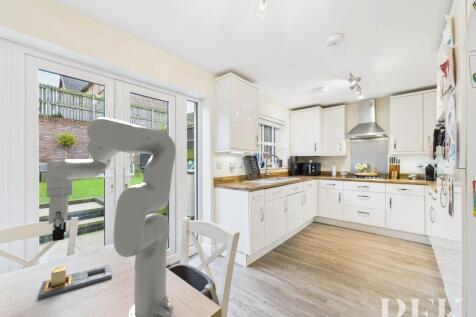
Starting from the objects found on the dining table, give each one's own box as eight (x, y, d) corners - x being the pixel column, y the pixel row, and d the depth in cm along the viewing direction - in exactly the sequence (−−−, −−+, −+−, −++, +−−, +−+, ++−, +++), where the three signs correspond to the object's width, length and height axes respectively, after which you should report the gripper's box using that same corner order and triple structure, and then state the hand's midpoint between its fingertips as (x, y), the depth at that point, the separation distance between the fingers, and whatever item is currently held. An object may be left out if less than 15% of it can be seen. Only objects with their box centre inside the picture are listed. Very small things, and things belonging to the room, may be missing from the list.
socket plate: (109, 267, 93) (109, 264, 93) (111, 278, 85) (111, 274, 85) (43, 285, 80) (43, 281, 80) (38, 299, 72) (38, 294, 72)
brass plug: (65, 283, 82) (66, 265, 82) (65, 288, 79) (65, 269, 79) (52, 286, 80) (52, 268, 80) (51, 292, 76) (51, 273, 76)
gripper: (49, 190, 84) (49, 232, 84) (42, 196, 70) (42, 246, 70) (73, 188, 89) (73, 228, 88) (71, 193, 75) (70, 241, 75)
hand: (59, 236), depth 79 cm, fingers open, 9 cm apart
